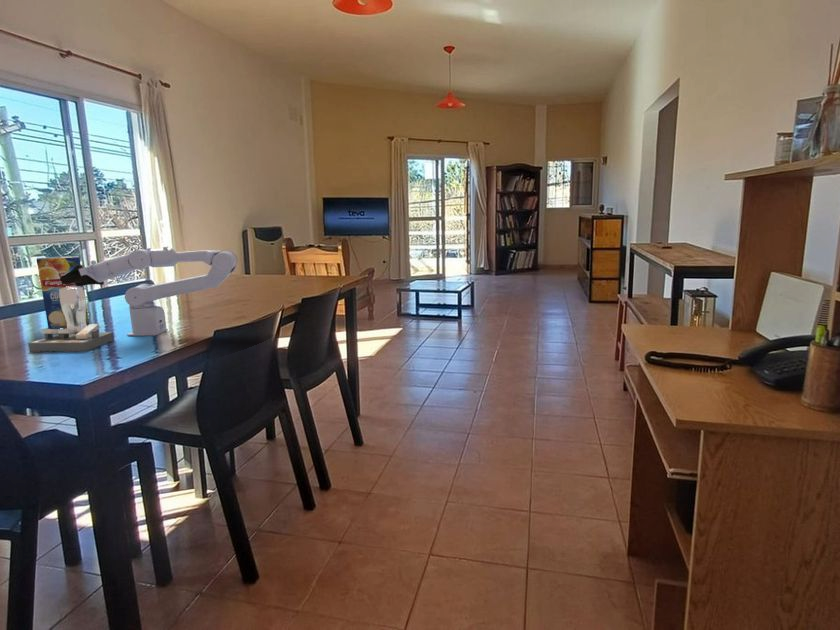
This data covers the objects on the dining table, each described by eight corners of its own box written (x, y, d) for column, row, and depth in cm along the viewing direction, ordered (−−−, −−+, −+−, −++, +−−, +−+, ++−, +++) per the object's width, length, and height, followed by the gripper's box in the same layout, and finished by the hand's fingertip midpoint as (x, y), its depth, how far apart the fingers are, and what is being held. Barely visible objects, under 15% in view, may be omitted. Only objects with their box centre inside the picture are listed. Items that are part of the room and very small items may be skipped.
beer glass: (95, 330, 173) (88, 285, 170) (79, 335, 166) (72, 289, 163) (76, 330, 174) (69, 286, 170) (59, 335, 167) (52, 289, 164)
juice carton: (48, 330, 174) (36, 259, 169) (48, 326, 180) (36, 257, 175) (90, 325, 180) (79, 256, 176) (88, 321, 187) (78, 255, 182)
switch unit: (114, 339, 159) (112, 325, 158) (85, 351, 146) (83, 335, 145) (62, 340, 159) (60, 326, 158) (29, 351, 147) (26, 336, 146)
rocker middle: (84, 333, 155) (84, 329, 155) (67, 333, 148) (67, 328, 148) (75, 333, 155) (75, 329, 155) (57, 333, 148) (58, 328, 148)
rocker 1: (68, 333, 155) (68, 329, 156) (50, 333, 148) (50, 328, 149) (59, 334, 156) (59, 329, 156) (41, 333, 149) (41, 329, 149)
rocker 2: (100, 327, 155) (98, 323, 154) (85, 338, 149) (84, 335, 148) (91, 327, 155) (89, 323, 154) (76, 338, 149) (75, 335, 148)
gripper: (119, 258, 168) (77, 272, 167) (96, 252, 154) (50, 267, 153) (126, 279, 169) (84, 292, 167) (104, 275, 154) (58, 289, 153)
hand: (68, 282), depth 160 cm, fingers open, 7 cm apart
